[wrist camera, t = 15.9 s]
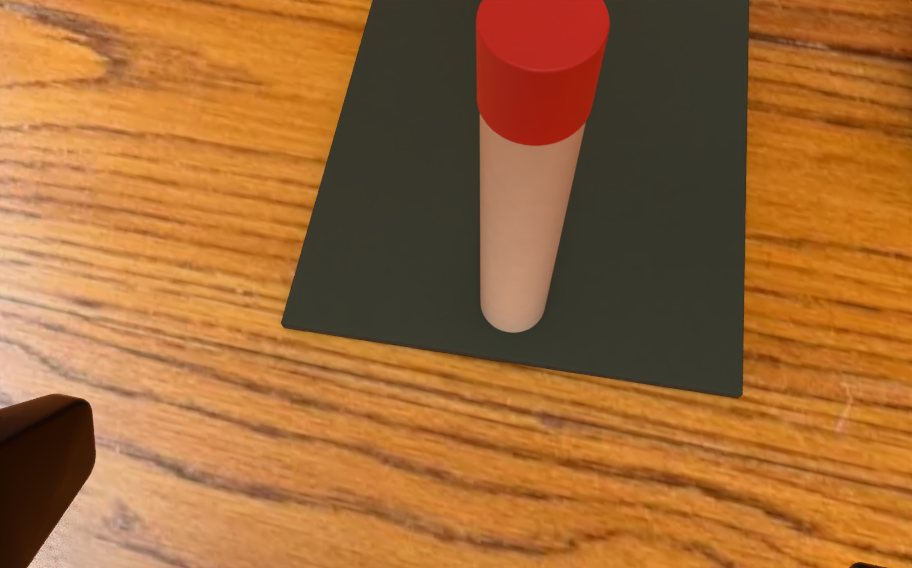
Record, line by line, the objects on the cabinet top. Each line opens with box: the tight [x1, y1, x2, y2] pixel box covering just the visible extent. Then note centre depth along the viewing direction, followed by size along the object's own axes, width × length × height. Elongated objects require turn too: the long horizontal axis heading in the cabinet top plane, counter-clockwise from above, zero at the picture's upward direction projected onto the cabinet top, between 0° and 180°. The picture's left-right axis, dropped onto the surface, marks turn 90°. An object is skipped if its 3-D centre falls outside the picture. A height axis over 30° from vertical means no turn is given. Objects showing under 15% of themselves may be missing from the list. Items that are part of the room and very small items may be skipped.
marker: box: [476, 0, 610, 333], centre depth 17 cm, size 2×2×12 cm
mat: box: [281, 0, 749, 398], centre depth 27 cm, size 28×14×1 cm, turn 170°
